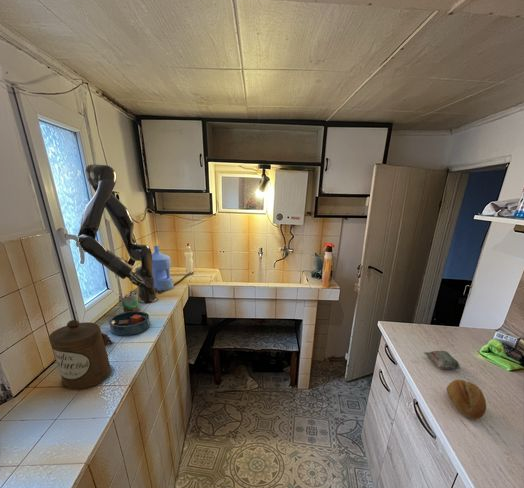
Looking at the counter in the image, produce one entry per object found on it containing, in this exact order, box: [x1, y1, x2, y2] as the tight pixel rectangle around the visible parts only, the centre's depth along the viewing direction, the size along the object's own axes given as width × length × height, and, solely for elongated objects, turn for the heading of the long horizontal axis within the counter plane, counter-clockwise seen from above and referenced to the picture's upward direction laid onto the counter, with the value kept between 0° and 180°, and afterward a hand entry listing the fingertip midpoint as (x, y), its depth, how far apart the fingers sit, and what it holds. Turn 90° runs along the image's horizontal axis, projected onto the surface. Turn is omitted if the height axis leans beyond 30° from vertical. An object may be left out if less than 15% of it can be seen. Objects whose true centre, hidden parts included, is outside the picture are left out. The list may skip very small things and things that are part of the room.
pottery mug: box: [101, 332, 113, 347], centre depth 118 cm, size 12×10×8 cm
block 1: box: [118, 320, 130, 326], centre depth 133 cm, size 4×4×4 cm
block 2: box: [130, 315, 143, 325], centre depth 138 cm, size 4×4×4 cm
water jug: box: [152, 245, 175, 292], centre depth 186 cm, size 16×16×28 cm
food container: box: [120, 290, 140, 313], centre depth 153 cm, size 12×6×10 cm, turn 179°
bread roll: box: [446, 379, 487, 420], centre depth 90 cm, size 10×15×8 cm, turn 168°
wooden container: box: [48, 319, 112, 390], centre depth 97 cm, size 15×15×22 cm
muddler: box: [143, 281, 153, 304], centre depth 143 cm, size 4×4×11 cm
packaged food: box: [423, 350, 462, 370], centre depth 113 cm, size 9×12×5 cm
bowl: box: [108, 310, 151, 336], centre depth 136 cm, size 18×18×5 cm
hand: (150, 288), depth 143 cm, fingers closed on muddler, 2 cm apart
